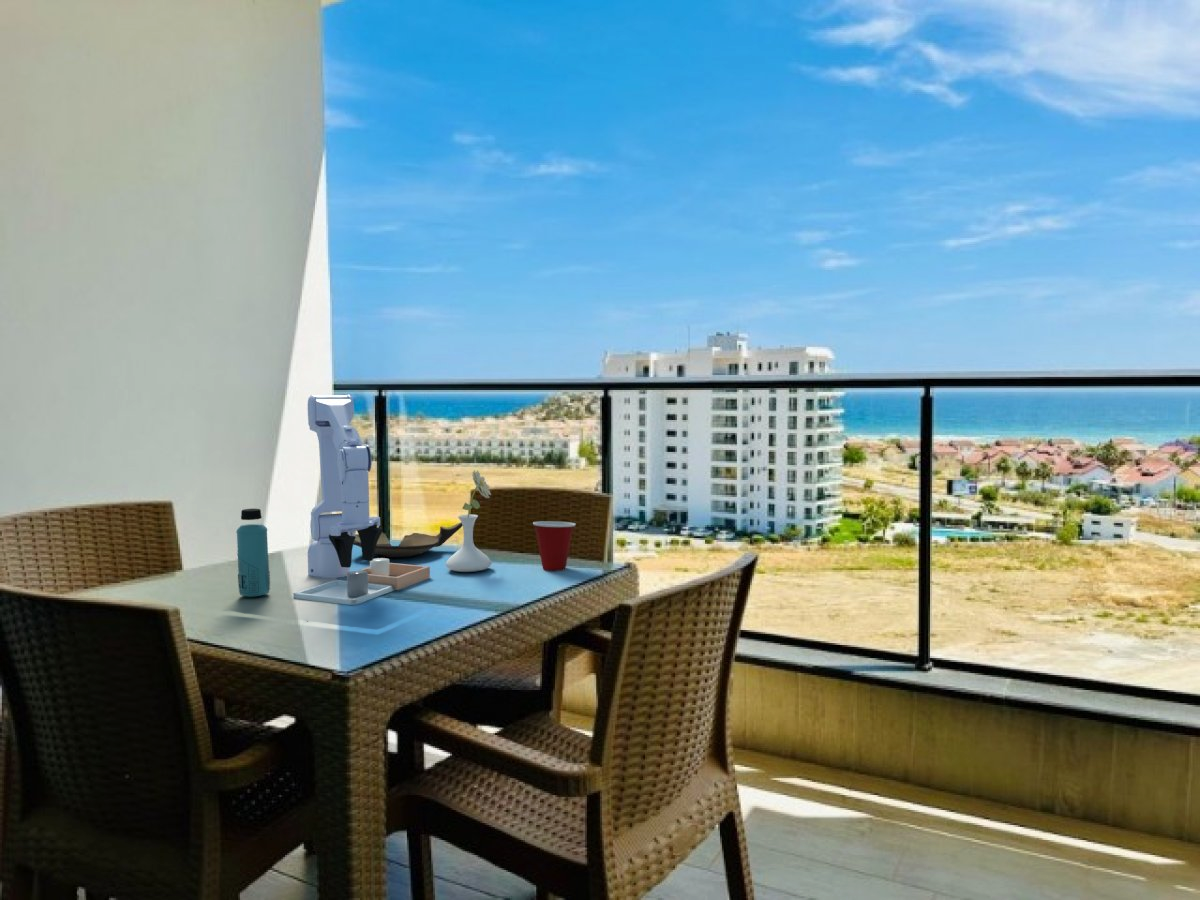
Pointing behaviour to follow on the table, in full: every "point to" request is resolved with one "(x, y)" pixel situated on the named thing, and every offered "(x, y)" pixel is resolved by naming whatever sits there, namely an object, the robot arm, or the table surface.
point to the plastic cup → (554, 543)
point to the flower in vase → (470, 536)
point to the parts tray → (341, 593)
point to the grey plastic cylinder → (357, 583)
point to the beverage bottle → (253, 556)
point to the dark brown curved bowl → (412, 543)
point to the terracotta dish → (400, 575)
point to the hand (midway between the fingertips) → (357, 563)
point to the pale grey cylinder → (380, 567)
